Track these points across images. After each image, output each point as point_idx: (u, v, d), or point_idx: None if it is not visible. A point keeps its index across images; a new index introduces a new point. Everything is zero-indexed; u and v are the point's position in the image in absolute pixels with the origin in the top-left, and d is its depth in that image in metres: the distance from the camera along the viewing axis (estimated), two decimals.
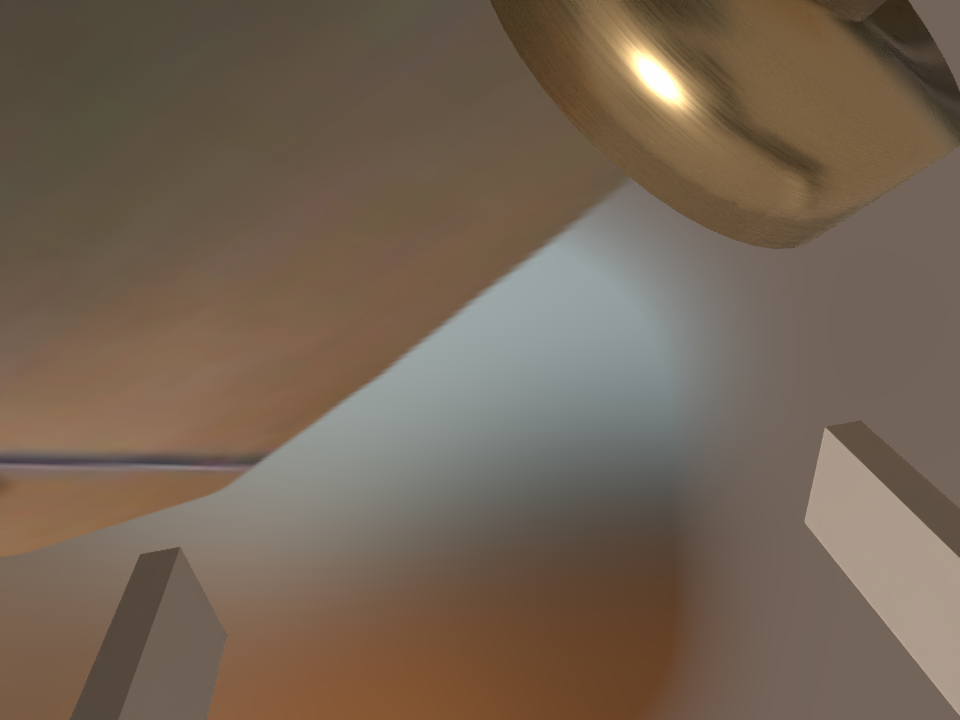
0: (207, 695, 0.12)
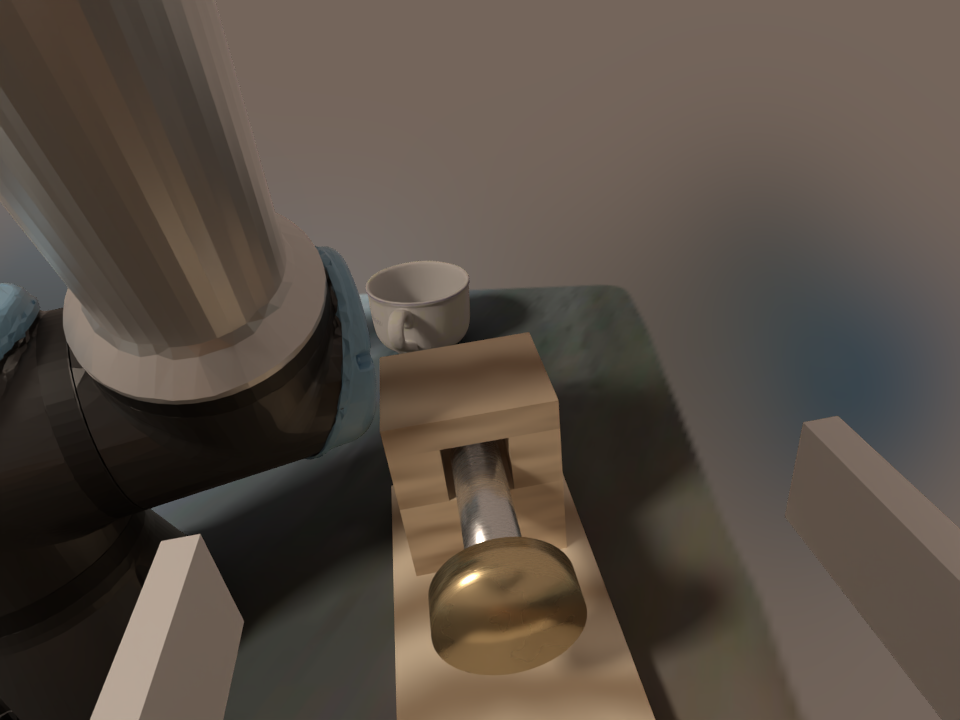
0: (226, 679, 0.12)
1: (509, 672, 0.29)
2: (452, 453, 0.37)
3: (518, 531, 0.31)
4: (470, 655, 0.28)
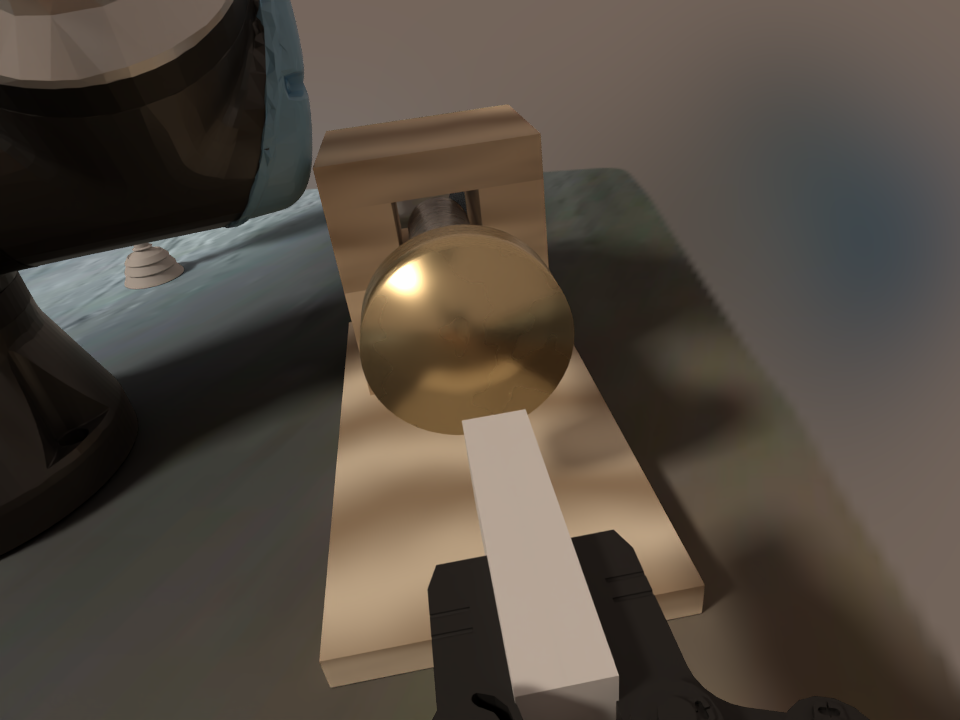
0: None
1: None
2: (409, 220, 0.30)
3: None
4: (417, 396, 0.21)
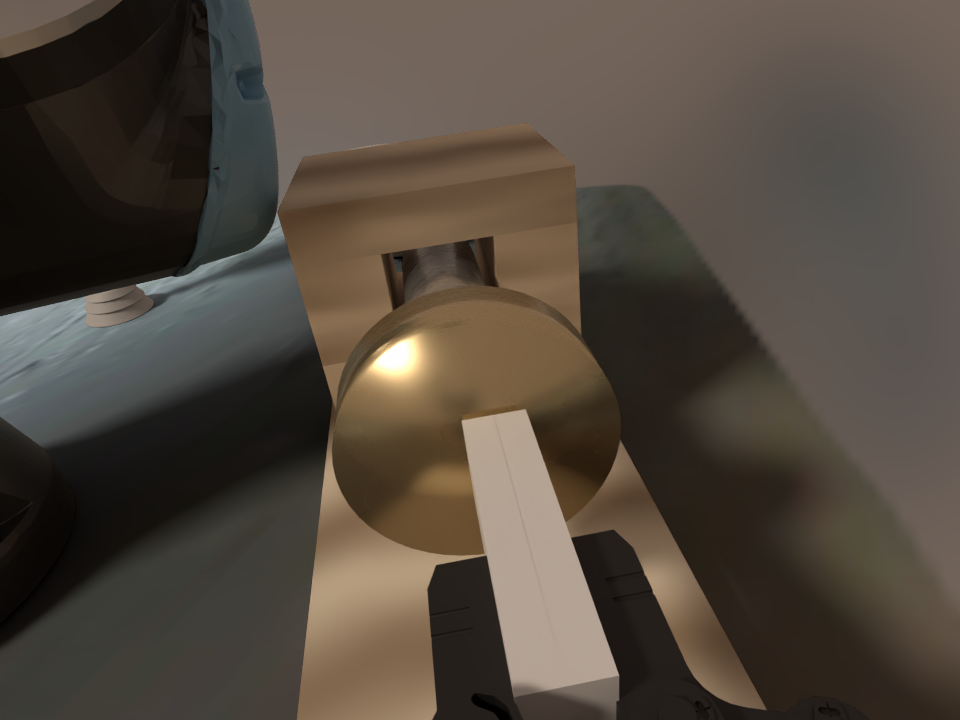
0: None
1: (482, 550, 0.17)
2: (404, 259, 0.24)
3: None
4: (411, 512, 0.16)
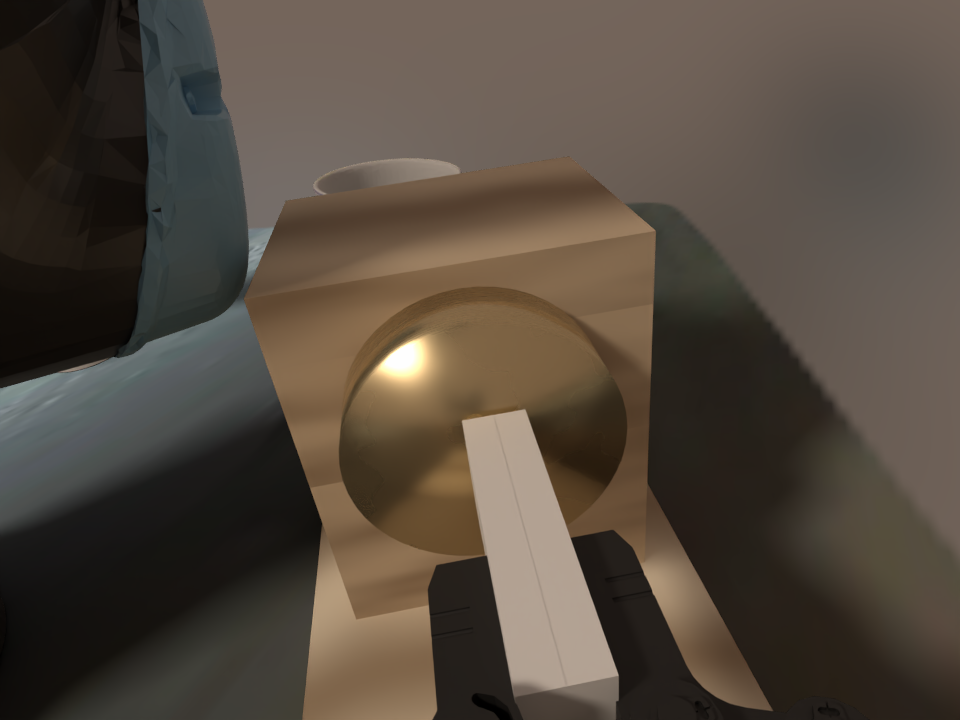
0: None
1: None
2: None
3: None
4: (417, 512, 0.16)
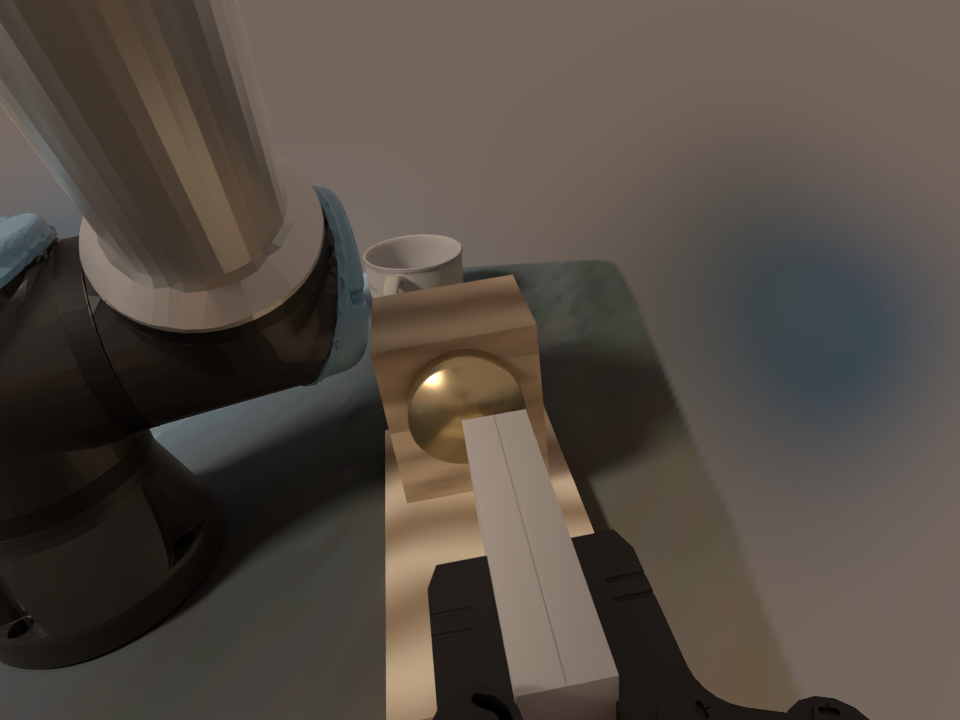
0: None
1: None
2: None
3: None
4: (439, 442, 0.37)
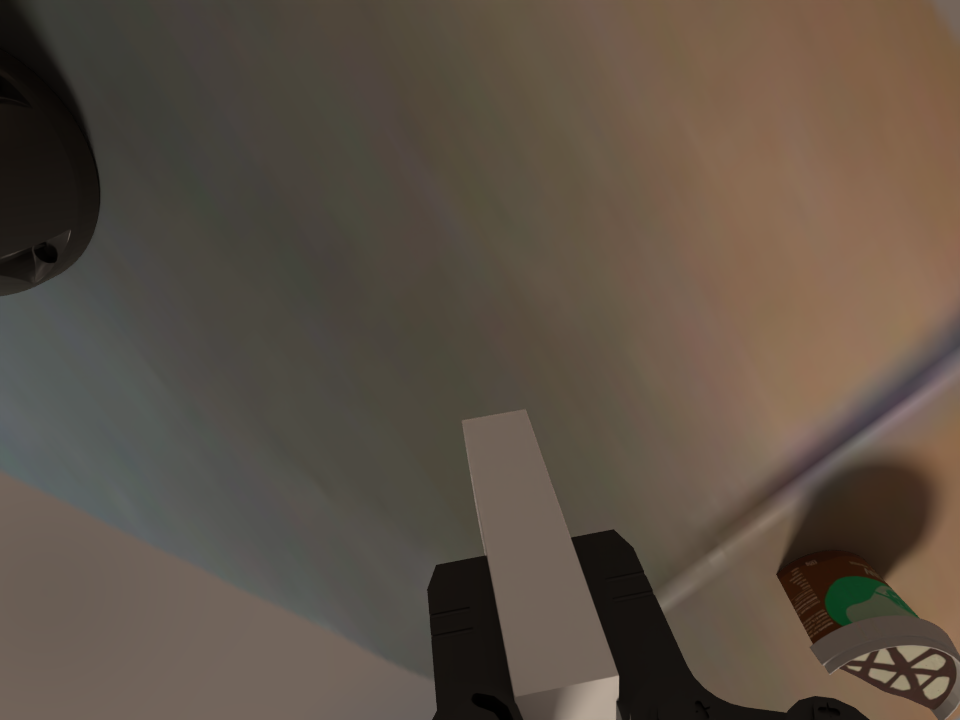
0: None
1: None
2: None
3: None
4: None
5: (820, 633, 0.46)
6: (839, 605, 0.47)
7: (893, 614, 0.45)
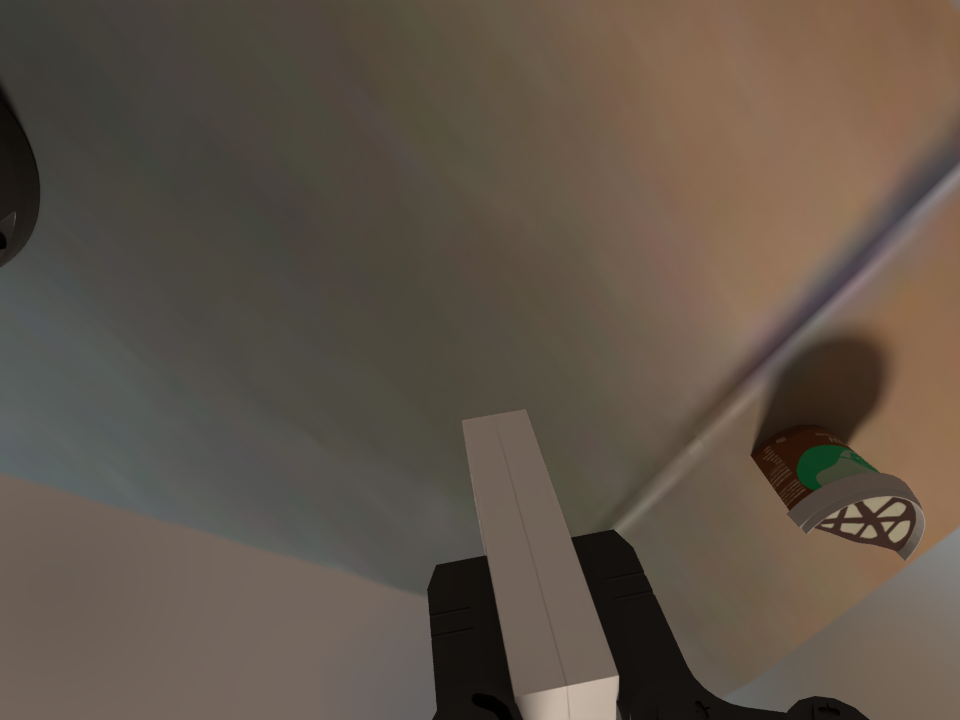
0: None
1: None
2: None
3: None
4: None
5: (795, 500, 0.51)
6: (809, 473, 0.51)
7: (858, 473, 0.50)
